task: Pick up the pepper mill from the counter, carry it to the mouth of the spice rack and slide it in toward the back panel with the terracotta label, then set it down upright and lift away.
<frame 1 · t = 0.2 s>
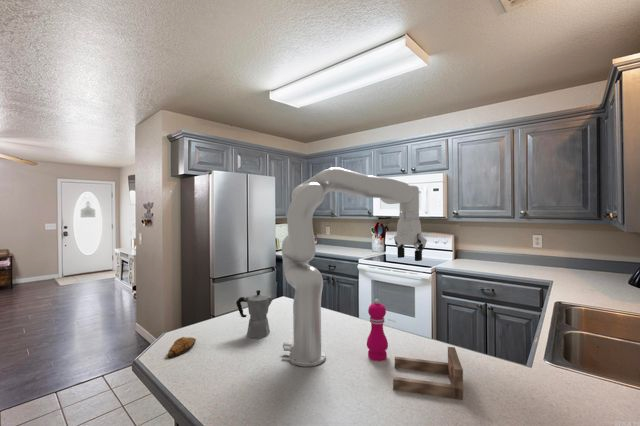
hand: (409, 259, 122), 31 cm above the counter, tool pointing down, fingers open, 9 cm apart
pepper mill: (377, 357, 104), on the counter
spice rack: (425, 381, 89), on the counter
coffeepot: (255, 334, 125), on the counter
croissant: (182, 351, 111), on the counter
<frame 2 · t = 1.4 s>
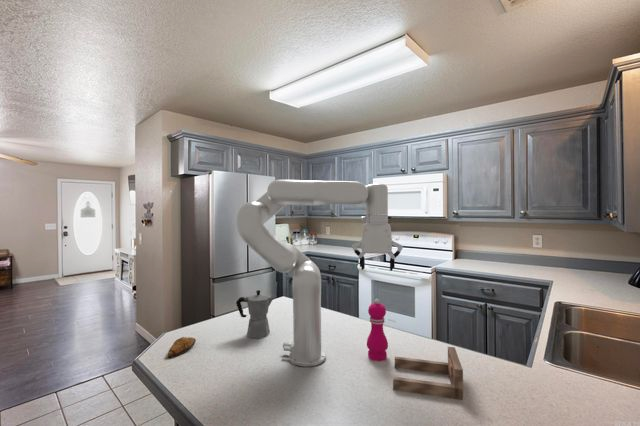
hand: (377, 269, 104), 30 cm above the counter, tool pointing down, fingers open, 9 cm apart
nothing on the counter moved.
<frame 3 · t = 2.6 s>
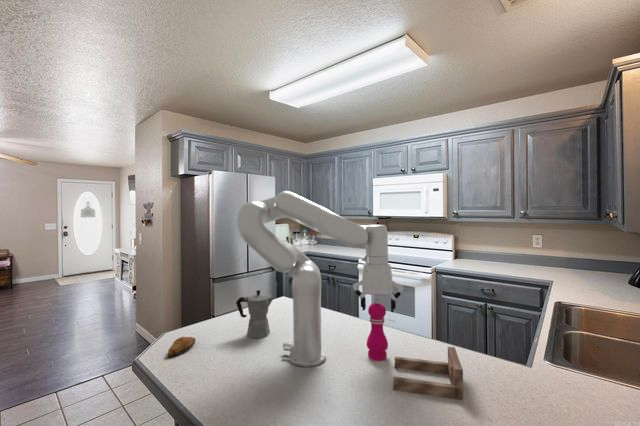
hand: (378, 310, 104), 16 cm above the counter, tool pointing down, fingers open, 9 cm apart
nothing on the counter moved.
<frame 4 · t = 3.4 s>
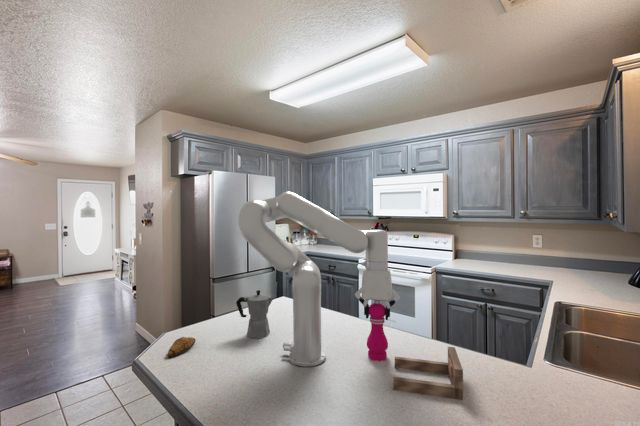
hand: (377, 317, 104), 14 cm above the counter, tool pointing down, fingers closed on pepper mill, 6 cm apart
pepper mill: (377, 357, 104), on the counter, touching gripper
everything else where it was.
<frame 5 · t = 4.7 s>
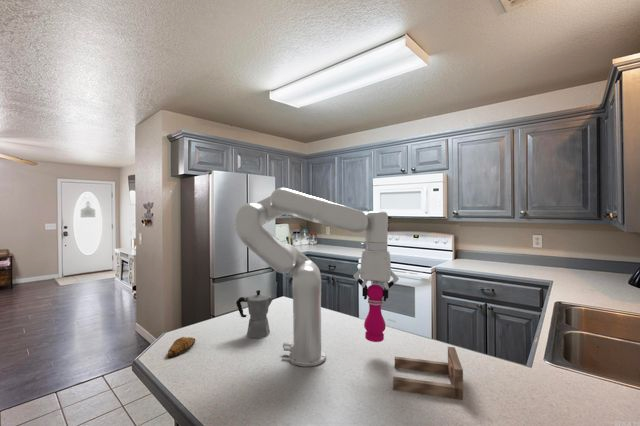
hand: (375, 298, 104), 20 cm above the counter, tool pointing down, fingers closed on pepper mill, 6 cm apart
pepper mill: (374, 339, 104), point 6 cm above the counter, touching gripper
everything else where it was.
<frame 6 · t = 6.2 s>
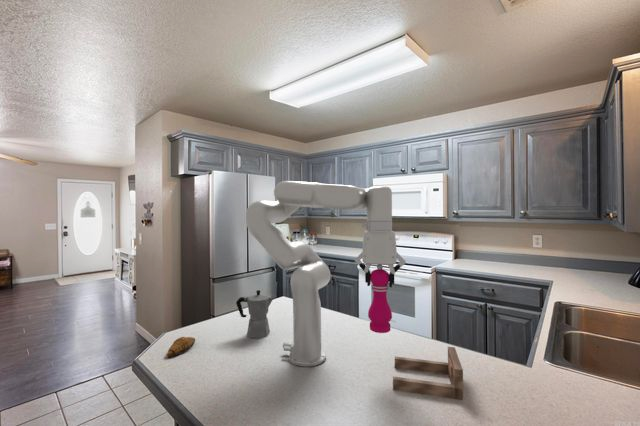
hand: (379, 285, 93), 27 cm above the counter, tool pointing down, fingers closed on pepper mill, 6 cm apart
pepper mill: (380, 329, 93), point 14 cm above the counter, touching gripper
everything else where it was.
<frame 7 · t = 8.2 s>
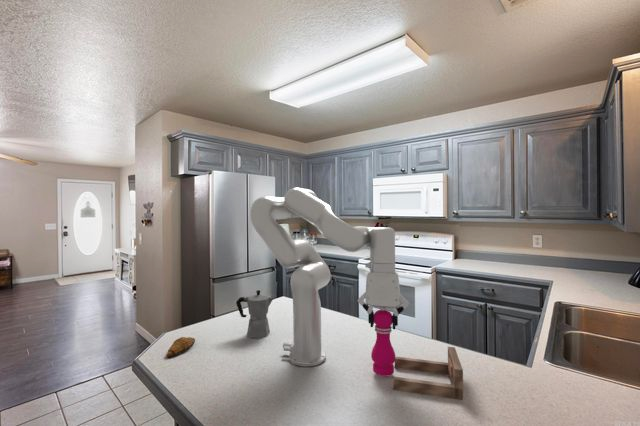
hand: (383, 326, 92), 15 cm above the counter, tool pointing down, fingers closed on pepper mill, 6 cm apart
pepper mill: (383, 371, 92), point 1 cm above the counter, touching gripper
everything else where it was.
when the fingers open (14 cm above the counter, at t = 11.8 s): pepper mill stays where it is, resting in spice rack.
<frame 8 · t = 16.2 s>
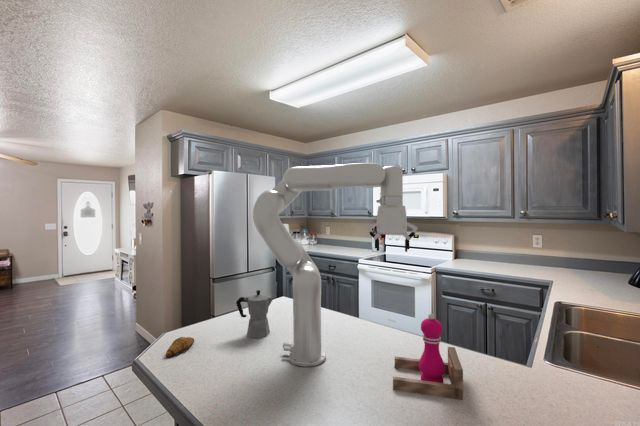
hand: (391, 250, 106), 36 cm above the counter, tool pointing down, fingers open, 9 cm apart
pepper mill: (432, 382, 88), resting in spice rack
everything else where it was.
at the end: pepper mill 0.1 cm from the target spot on the spice rack, point 0.0 cm above the spice rack's base; pepper mill tilted 0°; the gripper is holding nothing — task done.
